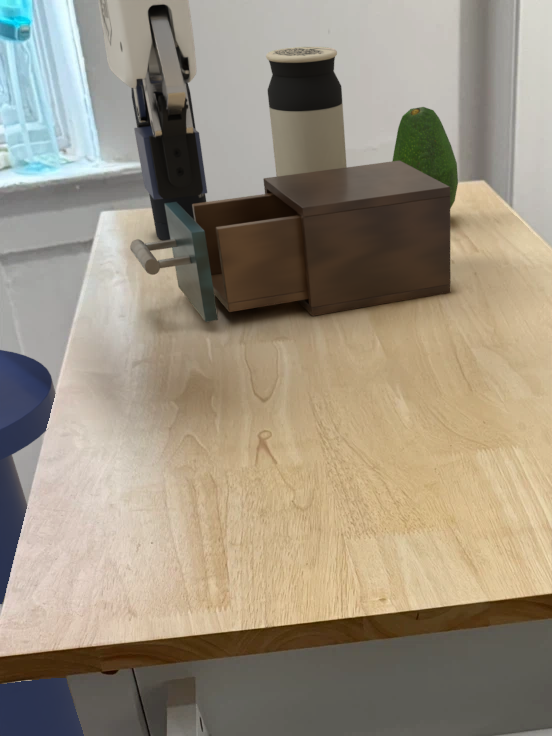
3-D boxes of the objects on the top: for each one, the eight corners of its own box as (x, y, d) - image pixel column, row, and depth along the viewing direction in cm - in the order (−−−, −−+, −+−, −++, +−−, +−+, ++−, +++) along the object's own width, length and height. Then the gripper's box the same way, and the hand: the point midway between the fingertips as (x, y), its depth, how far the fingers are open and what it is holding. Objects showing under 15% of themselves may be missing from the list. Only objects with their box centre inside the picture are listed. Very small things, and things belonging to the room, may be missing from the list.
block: (154, 199, 74) (143, 137, 72) (144, 187, 77) (133, 127, 74) (207, 193, 75) (199, 132, 73) (196, 181, 78) (187, 122, 75)
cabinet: (312, 316, 97) (302, 207, 91) (274, 279, 106) (263, 178, 100) (450, 292, 101) (450, 186, 95) (403, 258, 110) (399, 160, 104)
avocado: (389, 216, 123) (384, 102, 116) (452, 212, 124) (452, 98, 116) (396, 234, 117) (392, 115, 110) (463, 229, 118) (464, 111, 110)
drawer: (160, 329, 93) (143, 239, 88) (136, 293, 101) (119, 209, 96) (341, 299, 98) (335, 211, 93) (305, 267, 106) (297, 185, 101)
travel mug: (307, 248, 114) (290, 59, 103) (269, 234, 119) (249, 52, 108) (364, 234, 118) (354, 50, 106) (325, 220, 123) (311, 43, 111)
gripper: (50, -128, 69) (108, 170, 81) (81, -127, 57) (144, 222, 69) (159, -132, 71) (200, 160, 83) (211, -132, 59) (251, 209, 71)
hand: (174, 185), depth 76 cm, fingers closed on block, 4 cm apart
